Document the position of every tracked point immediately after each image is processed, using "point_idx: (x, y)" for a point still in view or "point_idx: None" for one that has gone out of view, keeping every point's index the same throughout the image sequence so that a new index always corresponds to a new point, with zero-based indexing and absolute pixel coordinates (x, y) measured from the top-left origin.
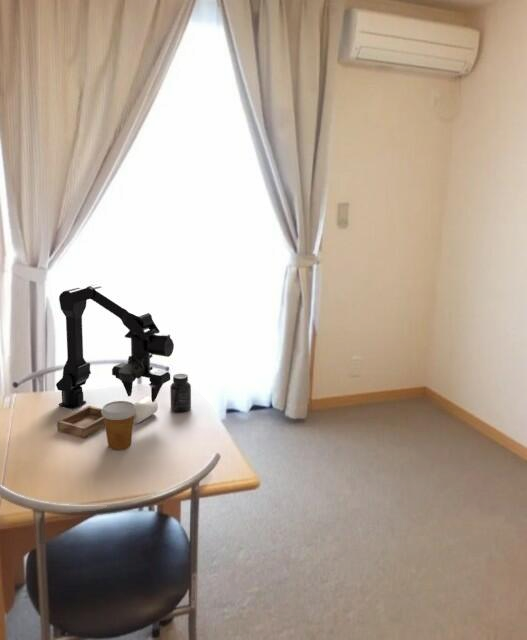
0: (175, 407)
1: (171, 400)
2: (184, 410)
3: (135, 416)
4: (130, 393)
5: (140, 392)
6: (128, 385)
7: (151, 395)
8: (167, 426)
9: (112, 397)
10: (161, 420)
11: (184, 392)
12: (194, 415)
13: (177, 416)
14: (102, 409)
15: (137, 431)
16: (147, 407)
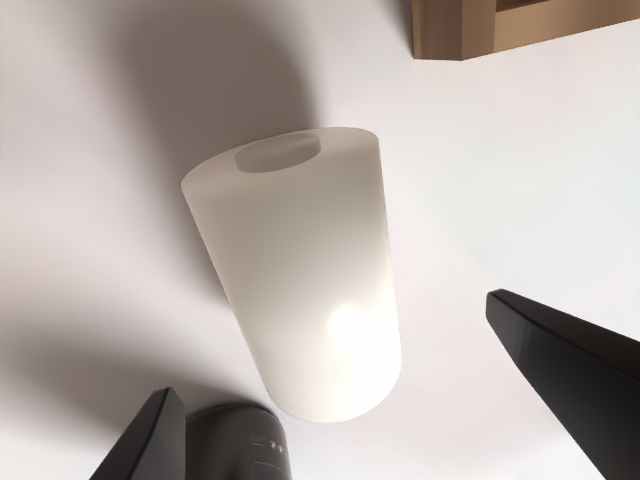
0: (203, 440)
1: (245, 473)
2: None
3: (239, 153)
4: (503, 330)
5: (537, 397)
6: (620, 410)
7: (129, 471)
8: (36, 280)
9: (635, 285)
10: (169, 304)
11: None
12: (103, 454)
13: None
14: (612, 11)
15: (92, 40)
16: (237, 309)
